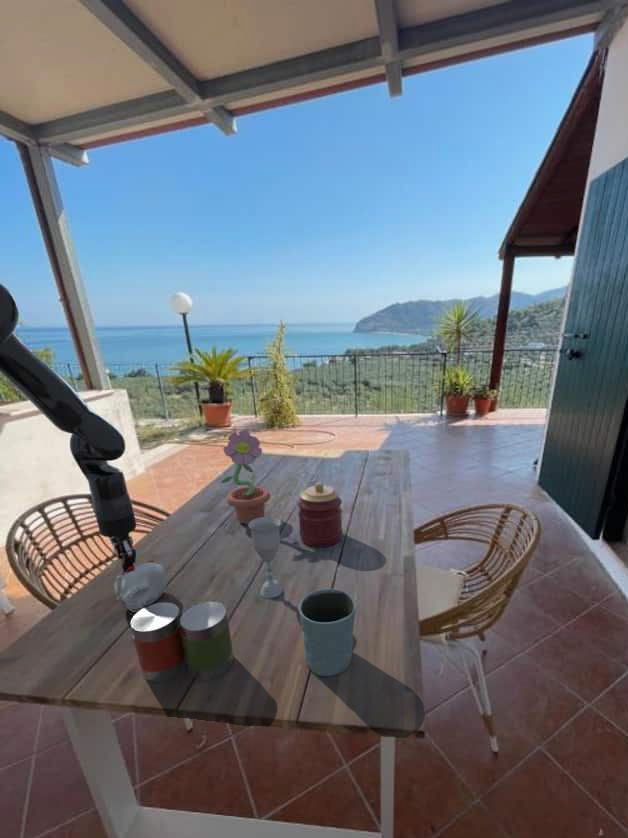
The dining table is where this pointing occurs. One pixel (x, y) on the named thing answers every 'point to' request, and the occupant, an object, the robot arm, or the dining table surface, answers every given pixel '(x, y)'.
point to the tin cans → (182, 641)
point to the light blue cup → (327, 630)
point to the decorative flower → (250, 497)
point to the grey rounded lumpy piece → (140, 585)
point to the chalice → (267, 549)
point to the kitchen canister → (320, 516)
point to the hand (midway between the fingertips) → (130, 575)
